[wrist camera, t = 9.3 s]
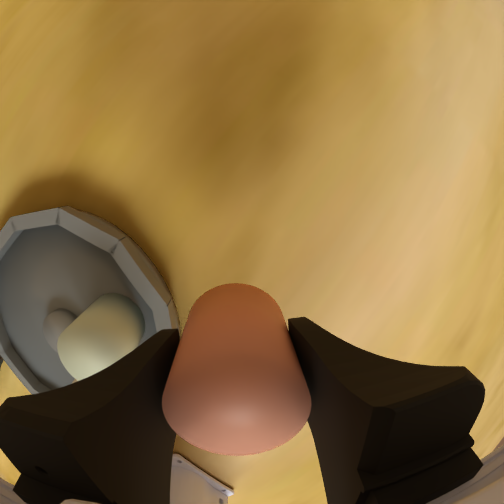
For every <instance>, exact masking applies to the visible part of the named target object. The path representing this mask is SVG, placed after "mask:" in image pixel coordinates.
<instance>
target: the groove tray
mask: <svg viewBox="0 0 504 504" xmlns="http://www.w3.org/2000/svg"><path fill="white" fill-rule="evenodd" d="M107 293H118V294H121V295H124V296H126V297H128V298H130V299H131V300H132V301H133V302H134V303H135V304H136V305H137V306H138V307H139V308H140V310H141V312H142V313H143V316H144V319H145V327H146V328H145V333H144V336H143V338H142V339H141V341H140V343H139V345H141V344H142V343H143V342H145V341H146V340H147V339H149V338H150V337H151V336H153V335H154V334H156V333H157V332H159V331H160V330H162V329H178V331H179V336H180V339H181V329H180V322H179V318H178V314H177V310H176V307H175V304H174V302H173V299H172V296H171V293H170V291H169V289H168V287H167V285H166V283H165V281H164V279H163V278H162V276H161V275H160V273H159V271H158V270H157V268H156V267H155V265H154V264H153V262H152V261H151V260H150V259H149V257H148V256H147V255H146V254H145V252H144V251H143V250H142V249H141V248H140V247H139V246H138V245H137V244H136V243H135V242H134V241H133V240H132V239H131V238H130V237H129V236H128V235H126V234H125V233H124V232H123V231H121V230H120V229H119V228H117V227H116V226H114V225H113V224H111V223H109V222H108V221H106V220H105V219H103V218H101V217H98V216H96V215H94V214H91V213H89V212H85V211H81V210H77V209H74V208H72V207H70V206H64V207H59V208H53V209H48V210H42V211H37V212H32V213H27V214H22V215H18V216H13V217H10V219H9V220H8V221H7V223H6V224H5V225H4V227H3V228H2V230H1V231H0V355H1V357H2V358H3V359H4V361H5V362H6V363H7V365H8V366H9V367H10V369H11V370H12V371H13V372H14V374H15V375H16V376H17V377H18V379H19V380H20V381H21V382H22V383H23V385H24V386H25V387H26V388H27V389H28V390H29V392H30V393H31V394H37V393H42V392H46V391H50V390H54V389H57V388H61V387H64V386H67V385H70V384H72V382H73V381H74V379H75V378H74V377H73V376H72V375H71V374H70V373H69V372H68V371H67V370H66V368H65V367H64V365H63V364H62V362H61V360H60V357H59V354H58V350H57V342H58V338H59V336H60V334H61V333H62V332H63V331H64V330H65V329H66V328H67V327H68V326H69V325H70V324H71V323H72V322H73V321H74V320H75V319H76V318H78V317H79V316H80V315H81V314H82V313H83V312H84V311H85V310H86V309H87V308H88V307H89V306H90V305H91V304H93V303H94V302H95V301H96V300H97V299H98V298H99V297H100V296H102V295H104V294H107ZM139 345H138V346H139ZM138 346H137V347H138Z"/></svg>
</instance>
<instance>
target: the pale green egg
mask: <svg viewBox="0 0 504 504" xmlns="http://www.w3.org/2000/svg"><path fill="white" fill-rule="evenodd" d="M145 328H146V327H145V319H144V316H143V313H142V312H141V310H140V308H139V307H138V306H137V305H136V304H135V303H134V302H133V301H132V300H131V299H130V298H128V297H126V296H124V295H121V294H118V293H107V294H104V295H102V296H100V297H99V298H98V299H97V300H96V301H95V302H94V303H93V304H91V305H90V306H89V307H88V308H87V309H86V310H85V311H84V312H83V313H82V314H81V315H80V316H79V317H78V318H76V319H75V320H74V321H73V322H72V323H71V324H70V325H69V326H68V327H67V328H66V329H65V330H64V331H63V332H62V333H61V334H60V336H59V338H58V342H57V350H58V354H59V357H60V360H61V362H62V364H63V365H64V367H65V368H66V370H67V371H68V372H69V373H70V374H71V375H72V376H73V377H74V378H75V379H76V380H78V381H80V380H82V379H85V378H87V377H89V376H91V375H93V374H95V373H97V372H99V371H101V370H103V369H105V368H107V367H108V366H110V365H112V364H113V363H115V362H116V361H118V360H119V359H121V358H122V357H124V356H125V355H127V354H128V353H130V352H131V351H133V350H134V349H135V348H137V346H138V345H139V343H140V341H141V339H142V338H143V336H144V333H145Z"/></svg>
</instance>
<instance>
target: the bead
mask: <svg viewBox="0 0 504 504" xmlns="http://www.w3.org/2000/svg"><path fill="white" fill-rule="evenodd" d="M162 409H163V413H164V416H165V418H166V420H167V422H168V424H169V425H170V427H171V428H172V429H173V430H174V431H175V432H176V433H177V434H178V435H179V436H180V437H181V438H182V439H184V440H185V441H187V442H188V443H190V444H192V445H194V446H196V447H198V448H200V449H203V450H206V451H209V452H212V453H217V454H223V455H234V456H240V455H252V454H257V453H262V452H265V451H269V450H272V449H274V448H276V447H279V446H280V445H282V444H284V443H286V442H287V441H289V440H290V439H292V438H293V437H294V436H295V435H296V434H297V433H298V432H299V431H300V430H301V429H302V428H303V426H304V425H305V423H306V422H307V419H308V417H309V414H310V411H311V396H310V393H309V389H308V386H307V383H306V381H305V378H304V375H303V372H302V369H301V366H300V363H299V360H298V357H297V354H296V352H295V349H294V346H293V343H292V340H291V337H290V334H289V331H288V328H287V326H286V323H285V320H284V317H283V314H282V312H281V309H280V307H279V306H278V304H277V303H276V302H275V300H274V299H273V298H272V297H271V296H270V295H268V294H267V293H266V292H264V291H263V290H261V289H259V288H256V287H254V286H251V285H246V284H238V283H234V284H225V285H221V286H217V287H215V288H213V289H210V290H209V291H207V292H206V293H204V294H203V295H202V296H200V297H199V299H198V300H197V301H196V302H195V303H194V305H193V306H192V308H191V311H190V313H189V316H188V319H187V322H186V325H185V328H184V331H183V334H182V336H181V339H180V342H179V345H178V348H177V351H176V354H175V358H174V361H173V364H172V367H171V370H170V373H169V376H168V379H167V382H166V386H165V389H164V392H163V396H162Z"/></svg>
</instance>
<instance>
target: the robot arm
mask: <svg viewBox="0 0 504 504" xmlns="http://www.w3.org/2000/svg"><path fill="white" fill-rule="evenodd" d="M288 328H289V334H290V337H291V340H292V343H293V346H294V349H295V352H296V354H297V357H298V360H299V363H300V366H301V369H302V372H303V375H304V378H305V381H306V383H307V386H308V389H309V393H310V396H311V411H310V414H309V417H308V419H307V421H308V423H309V426H310V429H311V432H312V435H313V438H314V442H315V446H316V450H317V455H318V459H319V463H320V468H321V472H322V477H323V482H324V487H325V492H326V497H327V502H328V504H504V444H503V445H502V446H500V447H499V448H497V449H496V450H494V451H493V452H492V453H490V454H489V455H487V456H485V457H484V458H482V459H481V460H480V459H479V458H478V456H477V455H476V454H475V452H474V451H473V450H472V449H471V447H472V446H473V445H474V440H473V438H472V437H471V436H470V435H469V432H470V430H471V428H472V426H473V425H474V423H475V421H476V419H477V417H478V414H479V412H480V410H481V408H482V405H483V402H484V397H485V388H484V385H483V383H482V382H481V381H480V380H479V379H477V378H476V377H475V376H474V375H473V374H472V373H471V372H470V371H469V370H468V369H467V368H466V367H464V366H429V365H420V364H413V363H407V362H402V361H398V360H394V359H389V358H386V357H382V356H379V355H376V354H373V353H371V352H368V351H365V350H362V349H360V348H358V347H356V346H353V345H351V344H349V343H347V342H345V341H343V340H342V339H340V338H338V337H336V336H334V335H333V334H331V333H329V332H328V331H326V330H325V329H323V328H321V327H320V326H318V325H317V324H315V323H314V322H312V321H311V320H309V319H308V318H306V317H299V318H291V319H288ZM179 342H180V336H179V331H178V329H162V330H160V331H159V332H157V333H156V334H154V335H153V336H151V337H150V338H149V339H147V340H146V341H145V342H143V343H142V344H141V345H139V346H138V347H137V348H135V349H134V350H133V351H131V352H130V353H128V354H127V355H125V356H124V357H122V358H121V359H119V360H118V361H116V362H115V363H113V364H112V365H110V366H108V367H107V368H105V369H103V370H101V371H99V372H97V373H95V374H93V375H91V376H89V377H87V378H85V379H82V380H80V381H77V382H75V383H72V384H70V385H67V386H64V387H61V388H57V389H54V390H50V391H46V392H42V393H37V394H32V395H25V396H18V397H9V398H7V399H6V400H5V401H4V403H3V404H2V405H1V406H0V448H1V450H2V451H3V452H4V453H5V455H6V456H7V457H8V459H9V460H10V461H11V462H12V463H13V465H14V466H15V467H16V468H17V469H18V471H19V472H20V473H21V475H20V477H19V479H18V481H17V482H16V484H15V486H14V485H12V484H10V483H8V482H7V481H5V480H3V479H1V478H0V504H228V496H231V495H233V494H234V491H233V490H232V489H230V488H228V487H227V486H225V485H223V484H222V483H220V482H219V481H217V480H215V479H214V478H212V477H211V476H209V475H208V474H206V473H205V472H203V471H202V470H200V469H199V468H197V467H196V466H194V465H193V464H192V463H190V462H189V461H187V460H186V459H185V458H183V457H182V456H181V455H179V454H173V447H174V442H175V437H176V432H175V431H174V430H173V429H172V428H171V427H170V425H169V424H168V422H167V420H166V418H165V416H164V413H163V409H162V396H163V392H164V389H165V386H166V382H167V379H168V376H169V373H170V370H171V367H172V364H173V361H174V358H175V354H176V351H177V348H178V345H179Z"/></svg>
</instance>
